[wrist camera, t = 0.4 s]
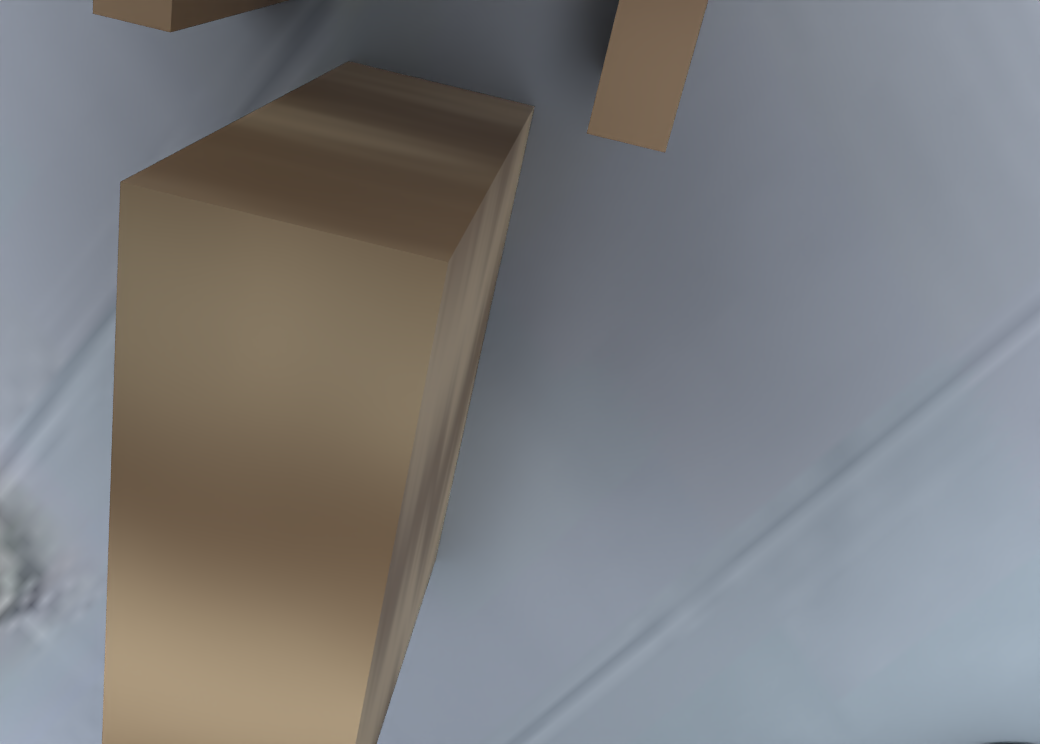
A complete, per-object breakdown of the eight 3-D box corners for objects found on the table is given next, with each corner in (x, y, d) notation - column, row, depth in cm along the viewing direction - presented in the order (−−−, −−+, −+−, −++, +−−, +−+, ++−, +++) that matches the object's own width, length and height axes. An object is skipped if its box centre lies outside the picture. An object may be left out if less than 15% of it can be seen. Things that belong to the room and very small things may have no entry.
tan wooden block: (435, 559, 26) (323, 907, 17) (288, 522, 26) (98, 849, 17) (534, 106, 21) (447, 262, 12) (349, 60, 21) (120, 181, 12)
